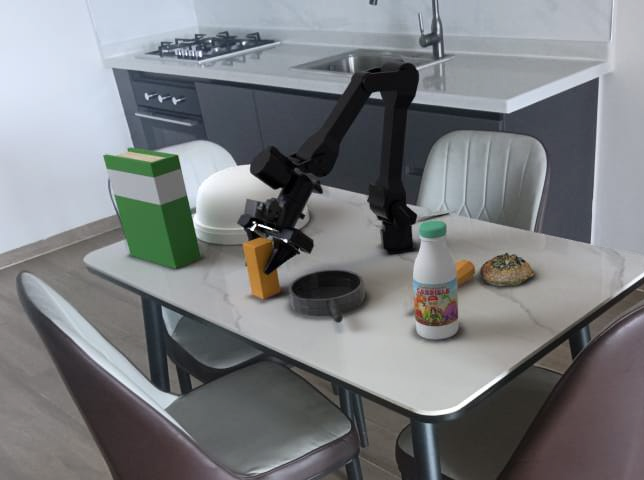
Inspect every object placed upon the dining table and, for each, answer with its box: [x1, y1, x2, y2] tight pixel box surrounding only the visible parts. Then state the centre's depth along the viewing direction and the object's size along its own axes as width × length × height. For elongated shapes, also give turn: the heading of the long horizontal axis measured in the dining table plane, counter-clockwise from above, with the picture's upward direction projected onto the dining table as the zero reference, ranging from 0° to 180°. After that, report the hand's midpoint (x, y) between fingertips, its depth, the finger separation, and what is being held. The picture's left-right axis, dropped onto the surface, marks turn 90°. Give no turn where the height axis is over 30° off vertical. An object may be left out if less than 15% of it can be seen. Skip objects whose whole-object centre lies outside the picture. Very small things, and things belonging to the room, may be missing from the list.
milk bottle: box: [412, 220, 459, 340], centre depth 128 cm, size 8×8×20 cm
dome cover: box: [192, 164, 310, 246], centre depth 189 cm, size 32×30×14 cm
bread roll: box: [480, 252, 535, 287], centre depth 150 cm, size 11×11×5 cm
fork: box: [373, 208, 458, 229], centre depth 184 cm, size 3×24×2 cm, turn 122°
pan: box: [288, 269, 366, 317], centre depth 146 cm, size 15×15×4 cm
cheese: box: [242, 237, 281, 300], centre depth 149 cm, size 4×4×12 cm
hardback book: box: [102, 147, 202, 270], centre depth 170 cm, size 18×7×24 cm, turn 52°
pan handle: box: [328, 299, 344, 324], centre depth 137 cm, size 9×2×2 cm, turn 13°
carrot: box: [455, 259, 476, 288], centre depth 146 cm, size 20×4×4 cm, turn 142°
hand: (256, 270), depth 149 cm, fingers open, 6 cm apart
